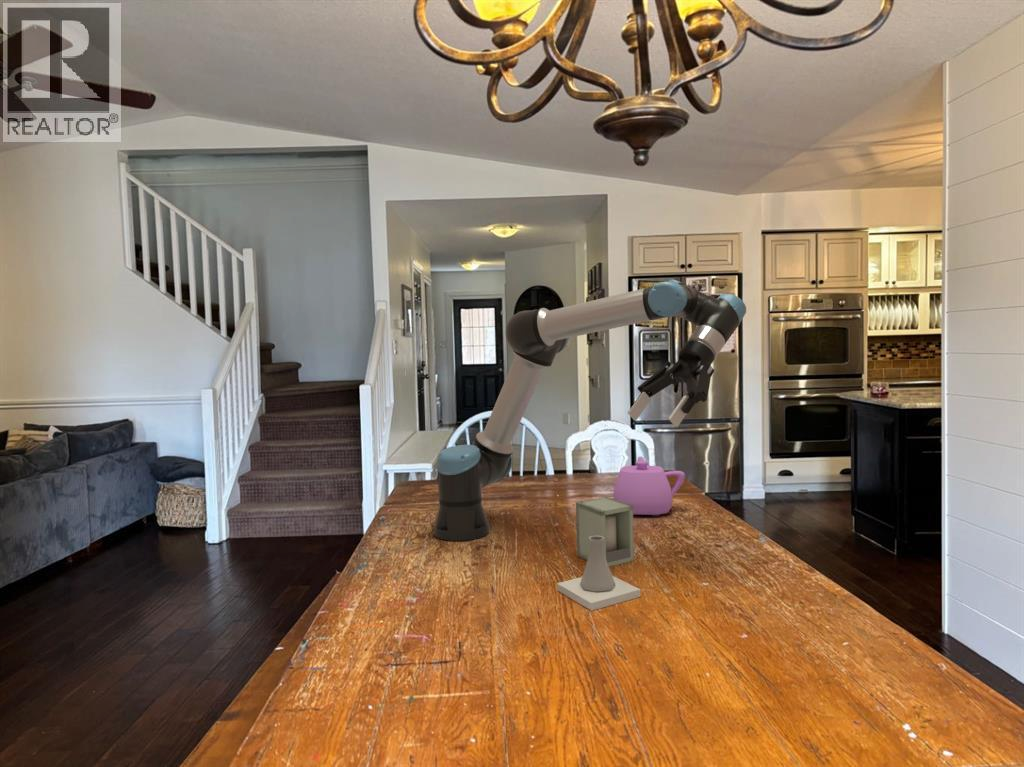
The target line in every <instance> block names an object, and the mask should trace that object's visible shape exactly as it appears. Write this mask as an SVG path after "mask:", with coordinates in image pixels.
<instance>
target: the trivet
mask: <svg viewBox="0 0 1024 767" xmlns="http://www.w3.org/2000/svg"><path fill="white" fill-rule="evenodd" d="M612 577H613V579H614V582H615V586H614V587H613V589H612V590H608V591H591V590H585V589H583V588H582V586H581V585H580V582H581V579H582V576H580V577H576V578H574V579H569V580H564V581H560V582H557V583H556V588H557V589H556V590H557V592H559V593H561V594H562V595H564V596H566V597H568V598H569V599H571V600H573V601H575V602H576V603H578V604H579V605H581V606H583V607H584V608H586V609H587V610H589V611H596V610H599V609H602V608H606V607H609V606H613V605H617V604H620V603H623V602H627V601H630V600H634V599H637V598H640V597H641V589H640V588H639V587H636V586H634V585H632V584H631V583H628V582H626V581H624V580H622V579H620V578H618V577H616V576H613V575H612Z"/></svg>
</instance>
